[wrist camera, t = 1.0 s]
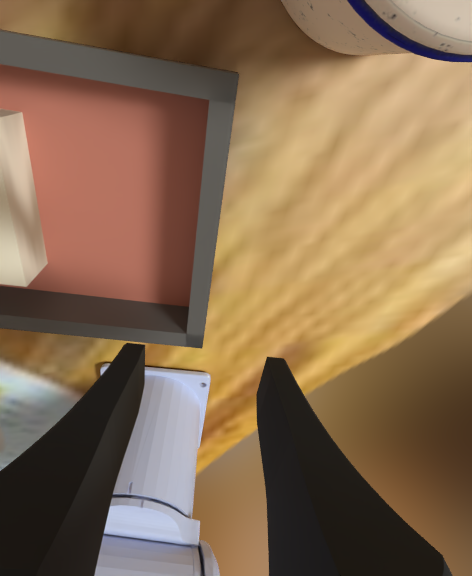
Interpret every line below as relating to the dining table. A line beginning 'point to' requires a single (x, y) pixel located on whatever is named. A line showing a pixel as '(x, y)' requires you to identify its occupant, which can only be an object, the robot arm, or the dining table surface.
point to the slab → (18, 206)
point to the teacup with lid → (388, 26)
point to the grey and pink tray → (119, 188)
